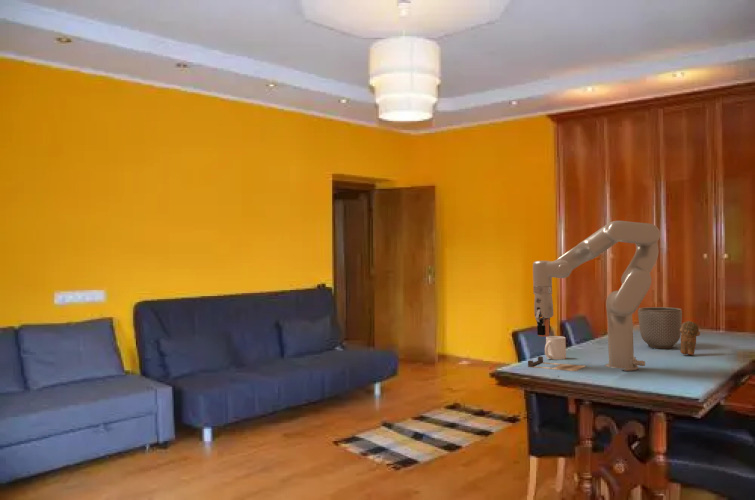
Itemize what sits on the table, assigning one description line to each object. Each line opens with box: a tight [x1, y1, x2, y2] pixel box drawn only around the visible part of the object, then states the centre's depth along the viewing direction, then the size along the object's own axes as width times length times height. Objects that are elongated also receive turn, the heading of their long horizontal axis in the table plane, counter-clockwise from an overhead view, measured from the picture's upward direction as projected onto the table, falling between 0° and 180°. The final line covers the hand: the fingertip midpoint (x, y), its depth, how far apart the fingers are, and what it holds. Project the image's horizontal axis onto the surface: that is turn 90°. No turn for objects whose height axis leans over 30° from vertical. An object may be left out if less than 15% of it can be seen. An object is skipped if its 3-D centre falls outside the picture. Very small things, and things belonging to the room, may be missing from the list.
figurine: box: [679, 320, 701, 356], centre depth 278 cm, size 8×8×15 cm
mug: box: [544, 335, 567, 360], centre depth 272 cm, size 12×8×10 cm
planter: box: [637, 306, 683, 350], centre depth 302 cm, size 20×20×19 cm
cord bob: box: [537, 319, 550, 338], centre depth 255 cm, size 4×4×7 cm
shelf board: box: [527, 356, 586, 372], centre depth 252 cm, size 20×13×4 cm, turn 54°
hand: (543, 333), depth 255 cm, fingers closed on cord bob, 4 cm apart
